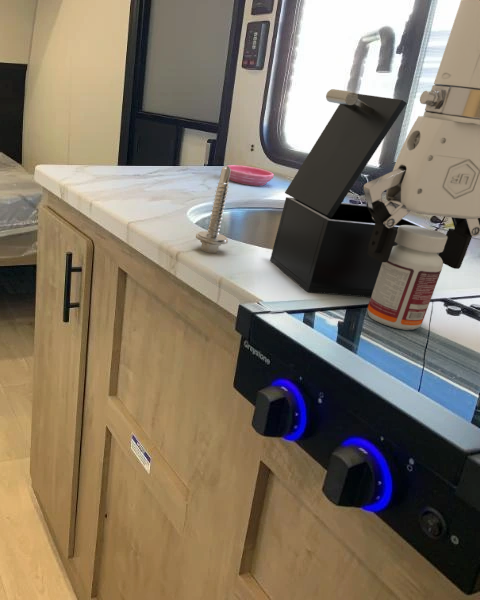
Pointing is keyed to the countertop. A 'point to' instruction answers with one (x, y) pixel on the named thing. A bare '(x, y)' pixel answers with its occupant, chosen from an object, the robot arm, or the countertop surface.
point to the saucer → (249, 175)
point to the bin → (328, 248)
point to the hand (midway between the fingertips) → (412, 261)
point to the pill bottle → (408, 278)
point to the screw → (216, 216)
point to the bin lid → (343, 148)
